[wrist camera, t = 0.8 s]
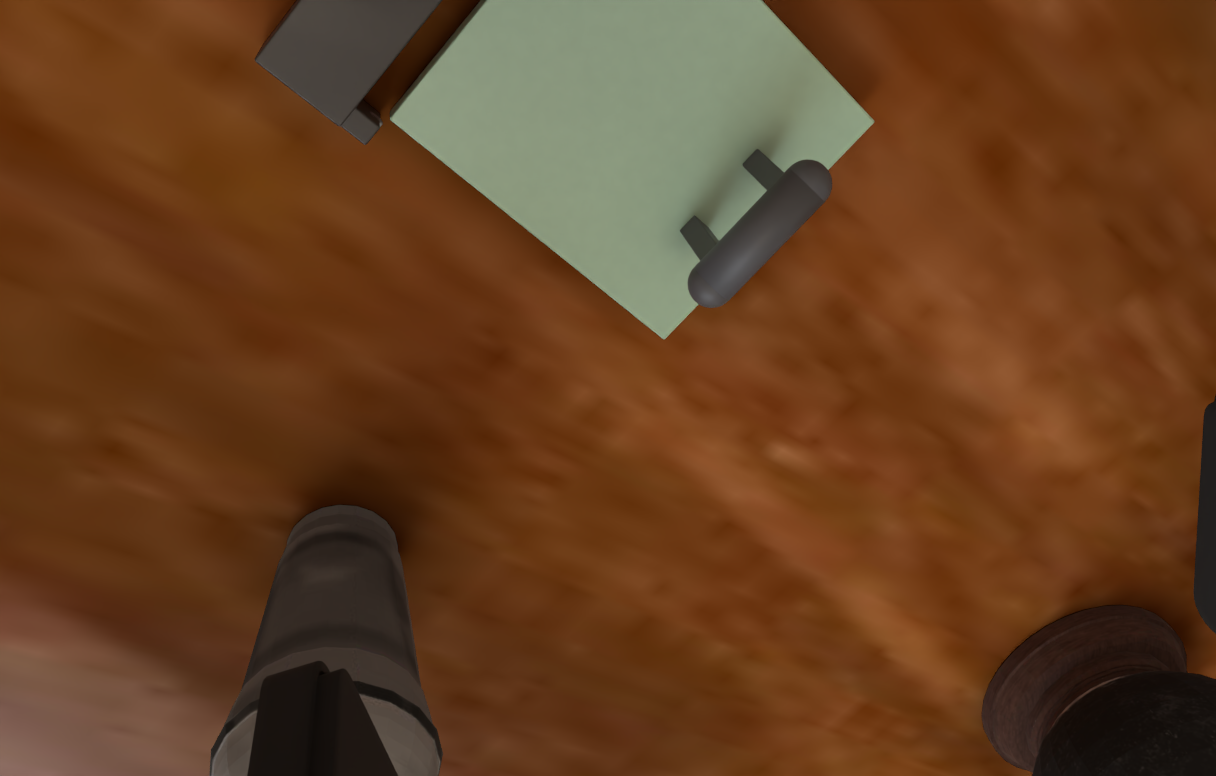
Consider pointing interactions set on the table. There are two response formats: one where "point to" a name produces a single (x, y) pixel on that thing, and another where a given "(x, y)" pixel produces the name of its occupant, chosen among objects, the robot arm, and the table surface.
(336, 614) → the beverage cup
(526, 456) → the table surface
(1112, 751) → the black ball on stand
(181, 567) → the table surface
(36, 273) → the table surface
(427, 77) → the sign
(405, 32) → the sign foot
